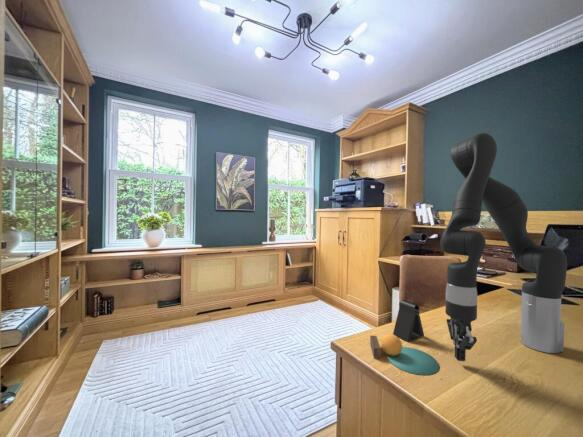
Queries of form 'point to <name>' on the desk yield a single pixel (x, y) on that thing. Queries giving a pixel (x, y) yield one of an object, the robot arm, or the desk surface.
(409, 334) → the phone stand
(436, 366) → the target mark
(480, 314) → the desk surface
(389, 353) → the ball
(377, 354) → the stop bar
